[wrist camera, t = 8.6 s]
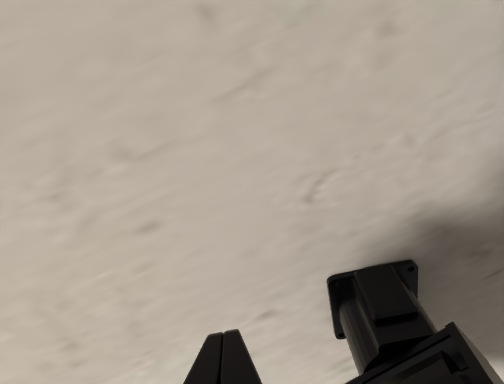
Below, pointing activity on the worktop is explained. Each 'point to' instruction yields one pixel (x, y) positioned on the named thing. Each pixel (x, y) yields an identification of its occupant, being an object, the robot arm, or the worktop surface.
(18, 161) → the worktop surface
